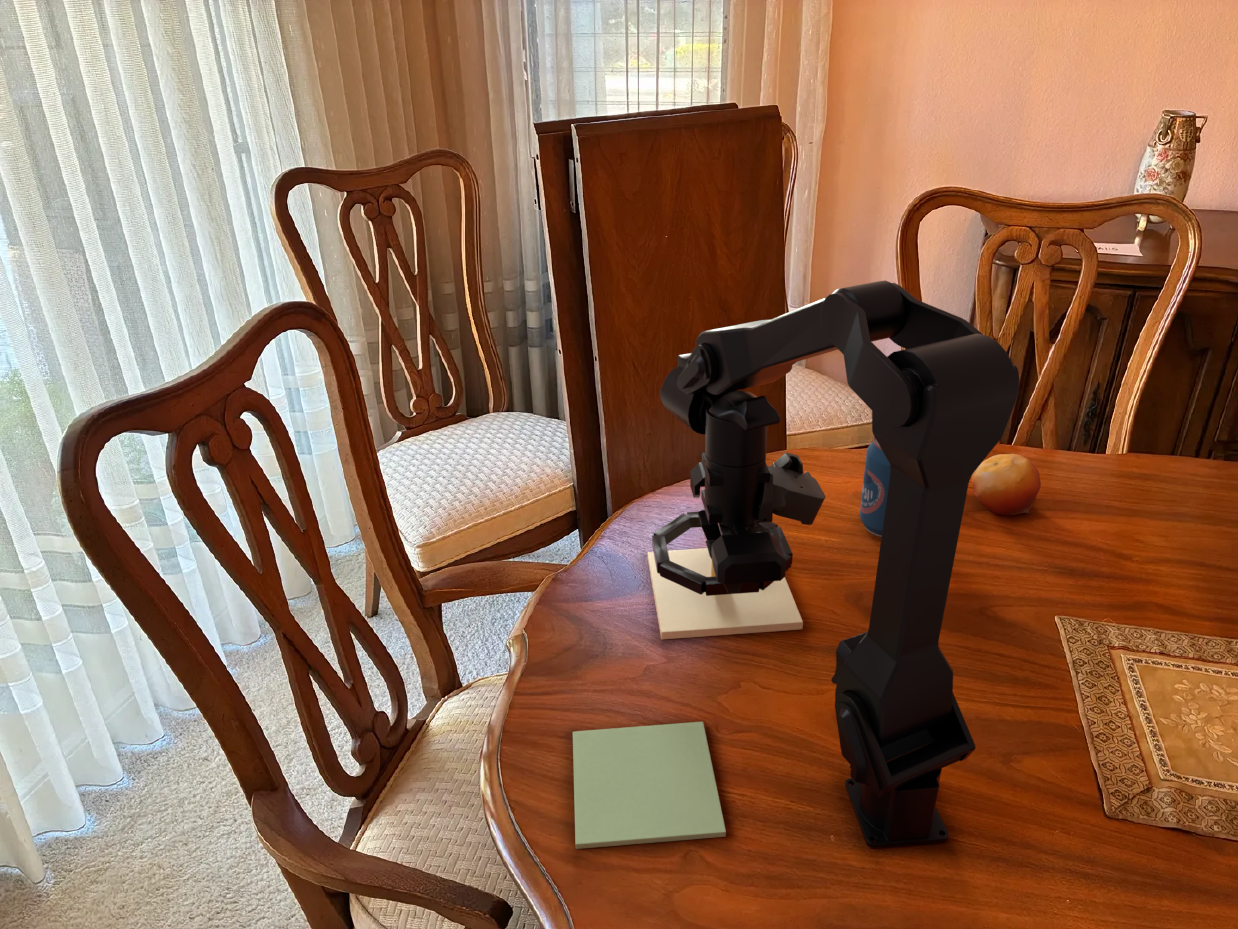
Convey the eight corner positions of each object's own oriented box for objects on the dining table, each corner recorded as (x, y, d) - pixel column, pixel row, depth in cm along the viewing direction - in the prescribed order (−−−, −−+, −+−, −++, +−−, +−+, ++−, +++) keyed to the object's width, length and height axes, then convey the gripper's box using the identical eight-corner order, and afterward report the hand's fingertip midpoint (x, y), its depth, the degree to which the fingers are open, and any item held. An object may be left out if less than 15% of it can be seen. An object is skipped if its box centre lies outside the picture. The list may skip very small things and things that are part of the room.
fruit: (1060, 515, 105) (1034, 464, 103) (995, 538, 109) (969, 489, 106) (1045, 483, 112) (1020, 434, 110) (985, 506, 115) (960, 459, 113)
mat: (726, 837, 68) (726, 832, 68) (575, 849, 68) (575, 844, 68) (703, 726, 79) (703, 721, 79) (573, 736, 78) (572, 731, 78)
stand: (802, 629, 90) (807, 572, 87) (661, 639, 90) (660, 583, 86) (770, 550, 104) (773, 498, 100) (647, 558, 103) (646, 506, 100)
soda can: (849, 515, 110) (858, 431, 104) (900, 508, 111) (912, 425, 105) (872, 544, 104) (883, 457, 98) (926, 537, 105) (940, 450, 99)
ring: (803, 589, 88) (803, 578, 88) (661, 599, 88) (661, 588, 87) (771, 516, 101) (771, 506, 100) (648, 524, 101) (648, 514, 100)
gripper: (849, 497, 73) (834, 640, 80) (795, 407, 90) (787, 533, 97) (719, 505, 73) (717, 649, 80) (689, 414, 89) (689, 540, 96)
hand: (731, 587), depth 88 cm, fingers closed on ring, 1 cm apart
